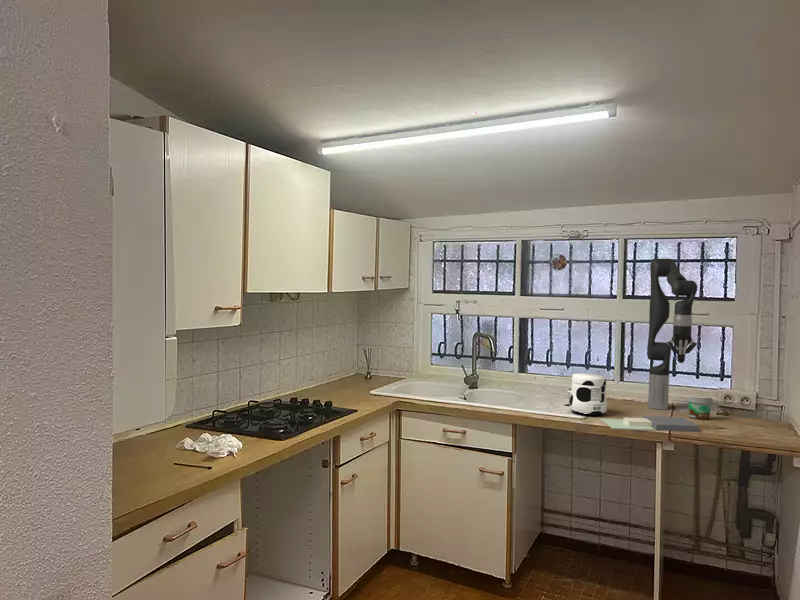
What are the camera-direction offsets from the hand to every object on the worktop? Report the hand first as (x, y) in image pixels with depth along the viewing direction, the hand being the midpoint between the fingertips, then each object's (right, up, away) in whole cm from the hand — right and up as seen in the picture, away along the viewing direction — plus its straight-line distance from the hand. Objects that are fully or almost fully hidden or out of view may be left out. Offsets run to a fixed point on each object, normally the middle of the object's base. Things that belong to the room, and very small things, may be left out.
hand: (680, 362), depth 269 cm
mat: (-27, -27, -7) cm, 39 cm away
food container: (+14, -28, +8) cm, 32 cm away
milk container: (-38, -26, +14) cm, 48 cm away
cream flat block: (-23, -25, -8) cm, 35 cm away
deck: (-9, -27, -8) cm, 30 cm away
